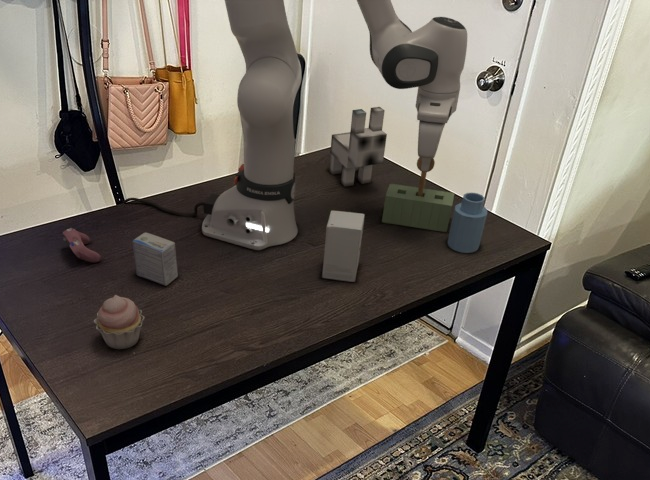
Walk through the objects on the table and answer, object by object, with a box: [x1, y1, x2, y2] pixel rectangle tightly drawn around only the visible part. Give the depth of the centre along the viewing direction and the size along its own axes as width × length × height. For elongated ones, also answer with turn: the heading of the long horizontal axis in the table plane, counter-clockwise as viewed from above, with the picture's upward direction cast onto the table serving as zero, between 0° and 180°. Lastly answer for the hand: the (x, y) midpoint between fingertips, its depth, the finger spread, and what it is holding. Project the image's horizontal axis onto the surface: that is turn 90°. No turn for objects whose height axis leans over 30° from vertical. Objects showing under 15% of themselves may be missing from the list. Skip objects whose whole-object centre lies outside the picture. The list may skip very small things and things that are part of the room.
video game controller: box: [62, 227, 101, 263], centre depth 154 cm, size 10×5×7 cm, turn 27°
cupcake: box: [93, 294, 145, 350], centre depth 130 cm, size 9×9×10 cm
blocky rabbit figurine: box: [328, 106, 388, 187], centre depth 181 cm, size 8×18×20 cm, turn 22°
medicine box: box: [132, 231, 179, 287], centre depth 147 cm, size 8×4×9 cm, turn 59°
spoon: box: [416, 156, 436, 197], centre depth 166 cm, size 4×1×17 cm, turn 75°
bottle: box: [447, 192, 489, 254], centre depth 159 cm, size 7×7×12 cm
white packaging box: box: [321, 209, 366, 283], centre depth 149 cm, size 7×7×13 cm
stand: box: [381, 183, 455, 233], centre depth 169 cm, size 16×7×7 cm, turn 75°
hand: (427, 161), depth 161 cm, fingers open, 8 cm apart
